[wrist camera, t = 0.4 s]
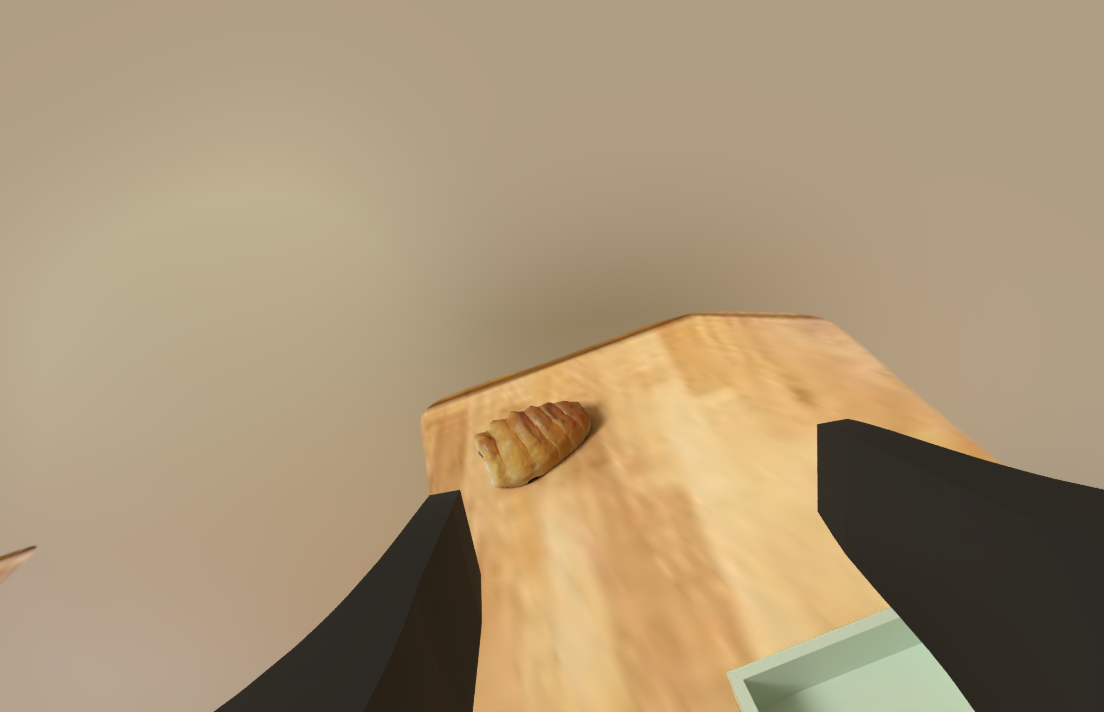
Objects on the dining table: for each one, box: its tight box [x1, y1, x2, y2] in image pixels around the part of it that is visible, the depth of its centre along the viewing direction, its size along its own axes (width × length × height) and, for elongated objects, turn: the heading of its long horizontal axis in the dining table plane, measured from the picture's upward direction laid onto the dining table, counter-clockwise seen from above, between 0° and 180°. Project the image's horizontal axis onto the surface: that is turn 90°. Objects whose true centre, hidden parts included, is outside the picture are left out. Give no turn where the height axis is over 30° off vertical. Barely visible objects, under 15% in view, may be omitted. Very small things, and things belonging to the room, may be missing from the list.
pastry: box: [474, 401, 591, 488], centre depth 45 cm, size 9×7×4 cm
